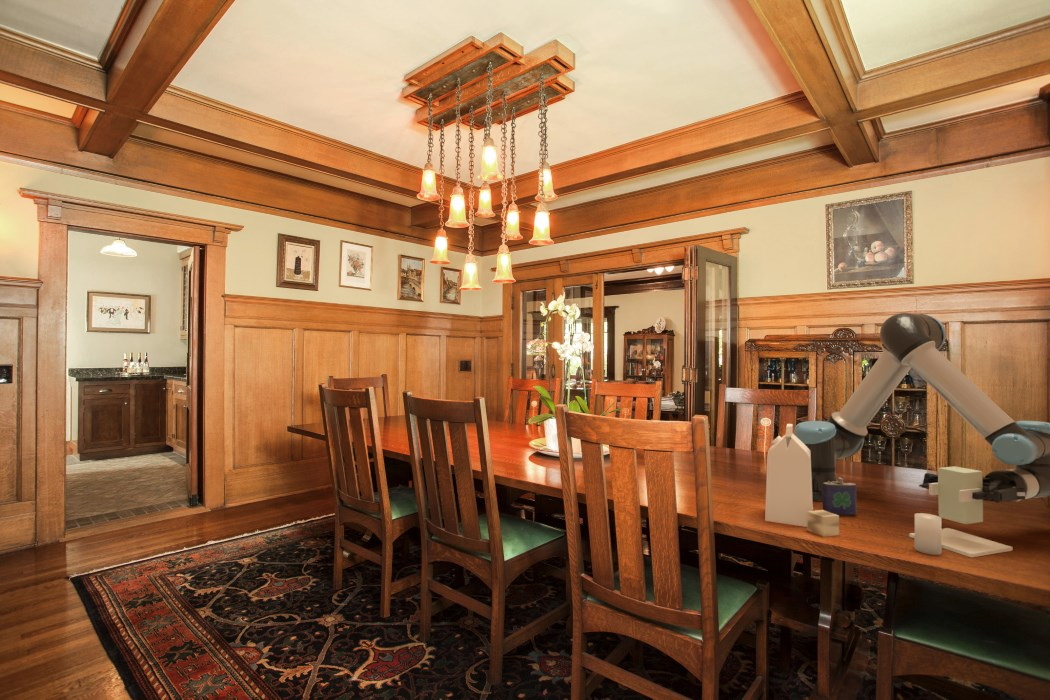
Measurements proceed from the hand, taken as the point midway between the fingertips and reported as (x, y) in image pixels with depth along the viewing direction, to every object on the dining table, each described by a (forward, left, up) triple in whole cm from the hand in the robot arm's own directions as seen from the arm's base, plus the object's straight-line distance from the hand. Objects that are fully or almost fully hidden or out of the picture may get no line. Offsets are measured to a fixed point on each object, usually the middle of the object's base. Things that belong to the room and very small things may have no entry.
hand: (945, 492), depth 126 cm
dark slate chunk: (-33, +59, -13) cm, 69 cm away
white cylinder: (+1, -7, -13) cm, 15 cm away
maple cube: (-16, -20, -13) cm, 29 cm away
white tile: (0, +5, -13) cm, 14 cm away
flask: (-26, -3, -13) cm, 29 cm away
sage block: (0, +5, -7) cm, 9 cm away
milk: (-28, -19, -13) cm, 36 cm away
